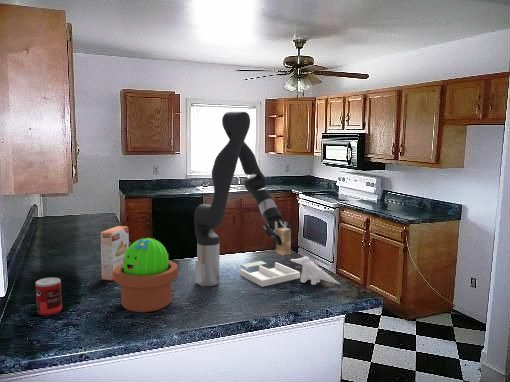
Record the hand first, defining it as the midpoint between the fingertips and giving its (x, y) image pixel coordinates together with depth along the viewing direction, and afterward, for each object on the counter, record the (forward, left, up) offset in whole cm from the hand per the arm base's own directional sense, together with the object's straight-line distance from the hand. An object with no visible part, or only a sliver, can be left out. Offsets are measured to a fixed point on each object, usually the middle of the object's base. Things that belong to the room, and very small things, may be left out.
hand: (285, 243), depth 177 cm
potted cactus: (-59, +7, -16) cm, 62 cm away
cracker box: (-60, +44, -16) cm, 76 cm away
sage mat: (0, +21, -16) cm, 26 cm away
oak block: (0, +2, -5) cm, 5 cm away
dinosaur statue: (+7, -12, -16) cm, 21 cm away
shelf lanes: (-5, +4, -16) cm, 17 cm away
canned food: (-90, +18, -16) cm, 93 cm away
